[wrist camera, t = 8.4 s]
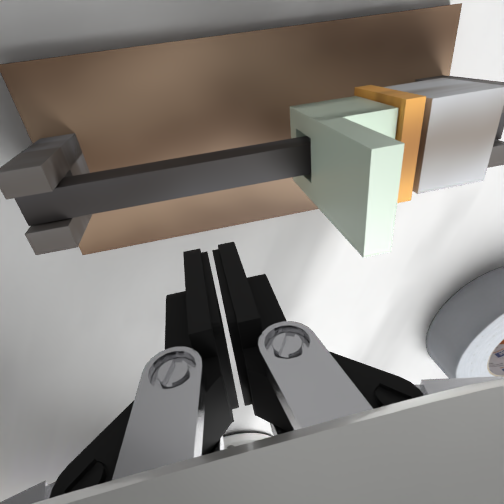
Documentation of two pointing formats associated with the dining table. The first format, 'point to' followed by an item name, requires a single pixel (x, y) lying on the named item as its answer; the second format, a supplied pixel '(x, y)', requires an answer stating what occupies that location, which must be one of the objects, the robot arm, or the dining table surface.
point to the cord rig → (232, 125)
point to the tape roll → (471, 330)
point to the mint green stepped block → (353, 167)
